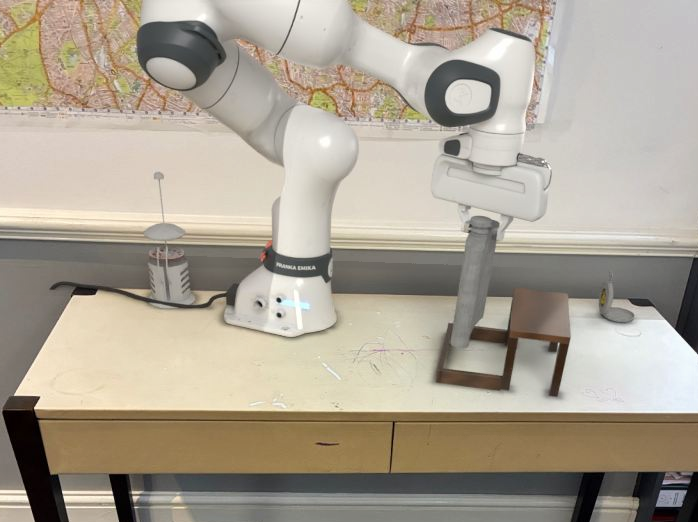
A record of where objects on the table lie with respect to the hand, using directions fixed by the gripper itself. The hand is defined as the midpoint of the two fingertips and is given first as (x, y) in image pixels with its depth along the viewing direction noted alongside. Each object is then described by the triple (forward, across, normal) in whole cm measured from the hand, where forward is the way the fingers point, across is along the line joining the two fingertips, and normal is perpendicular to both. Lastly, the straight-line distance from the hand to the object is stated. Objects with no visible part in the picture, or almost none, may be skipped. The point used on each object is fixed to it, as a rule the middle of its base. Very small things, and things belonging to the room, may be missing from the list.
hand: (481, 236), depth 133 cm
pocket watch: (+23, -14, -39) cm, 48 cm away
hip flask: (+17, 0, 0) cm, 17 cm away
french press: (+24, +60, +17) cm, 67 cm away
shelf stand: (+23, -6, -3) cm, 24 cm away
